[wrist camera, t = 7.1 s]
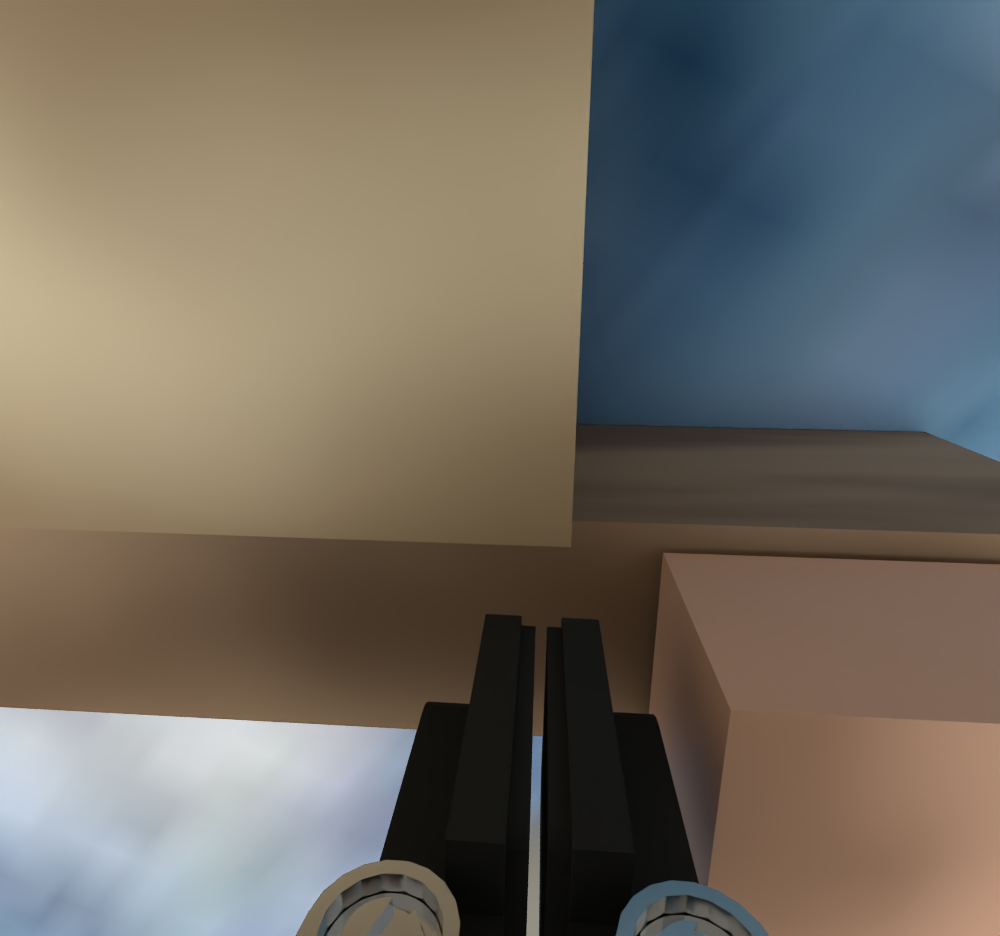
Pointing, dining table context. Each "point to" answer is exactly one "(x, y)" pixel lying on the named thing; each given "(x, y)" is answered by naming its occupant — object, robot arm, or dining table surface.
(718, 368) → the dining table surface
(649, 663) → the toolbox
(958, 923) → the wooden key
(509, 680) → the robot arm
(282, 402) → the toolbox lid
